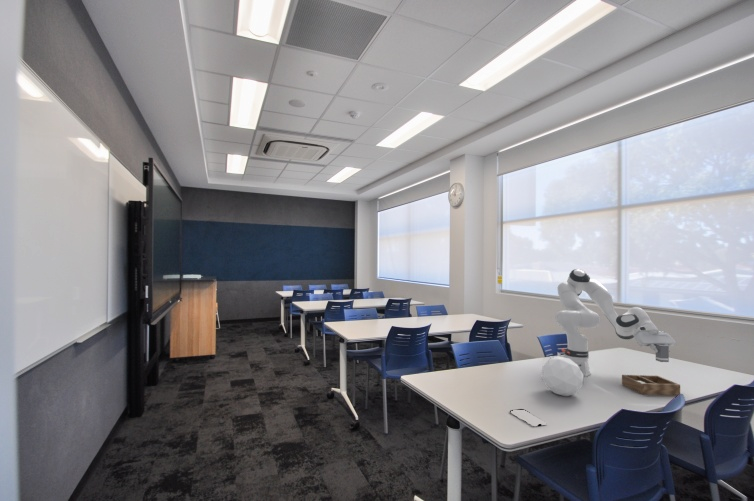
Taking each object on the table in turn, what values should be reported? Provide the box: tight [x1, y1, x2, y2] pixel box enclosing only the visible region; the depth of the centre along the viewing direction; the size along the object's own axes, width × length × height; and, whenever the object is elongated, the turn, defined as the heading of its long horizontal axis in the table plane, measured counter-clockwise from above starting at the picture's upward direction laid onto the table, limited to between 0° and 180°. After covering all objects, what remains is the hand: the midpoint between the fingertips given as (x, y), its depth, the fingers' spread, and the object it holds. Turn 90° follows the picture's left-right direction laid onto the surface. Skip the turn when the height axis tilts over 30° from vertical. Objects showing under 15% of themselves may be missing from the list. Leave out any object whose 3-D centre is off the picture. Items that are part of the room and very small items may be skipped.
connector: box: [655, 344, 670, 363], centre depth 197 cm, size 5×4×9 cm
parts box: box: [621, 374, 681, 396], centre depth 190 cm, size 20×15×6 cm
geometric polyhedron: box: [540, 355, 584, 397], centre depth 183 cm, size 19×20×20 cm
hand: (663, 352), depth 196 cm, fingers closed on connector, 4 cm apart
